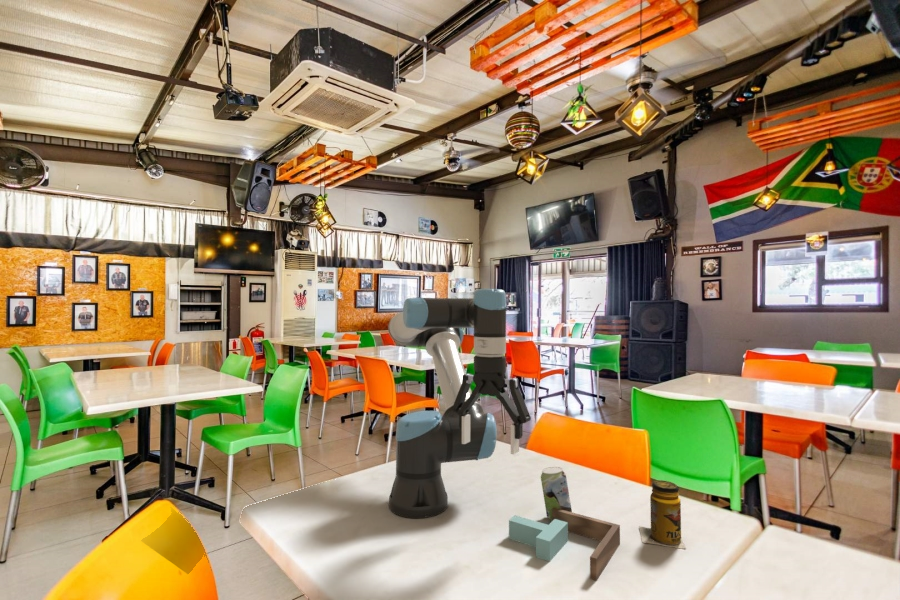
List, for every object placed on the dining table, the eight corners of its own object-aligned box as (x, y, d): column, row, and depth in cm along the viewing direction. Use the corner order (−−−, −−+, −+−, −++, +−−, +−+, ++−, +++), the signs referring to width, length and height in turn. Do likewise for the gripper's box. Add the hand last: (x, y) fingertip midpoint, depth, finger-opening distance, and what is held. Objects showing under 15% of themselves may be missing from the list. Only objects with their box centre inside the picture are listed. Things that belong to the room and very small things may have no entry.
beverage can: (573, 527, 104) (572, 474, 104) (541, 524, 105) (540, 472, 105) (571, 515, 110) (571, 465, 110) (540, 512, 111) (540, 463, 112)
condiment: (686, 549, 94) (685, 491, 94) (642, 543, 96) (641, 487, 97) (679, 533, 101) (678, 479, 101) (638, 527, 103) (638, 475, 104)
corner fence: (523, 555, 91) (522, 535, 92) (553, 524, 105) (553, 507, 105) (596, 580, 83) (596, 558, 83) (619, 544, 96) (619, 525, 96)
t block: (501, 545, 96) (501, 526, 96) (522, 527, 104) (522, 509, 104) (549, 561, 89) (549, 541, 89) (568, 541, 97) (567, 522, 97)
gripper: (438, 353, 108) (437, 442, 108) (531, 359, 94) (531, 462, 94) (455, 350, 114) (454, 435, 114) (545, 356, 100) (545, 452, 100)
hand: (489, 447), depth 104 cm, fingers open, 12 cm apart
